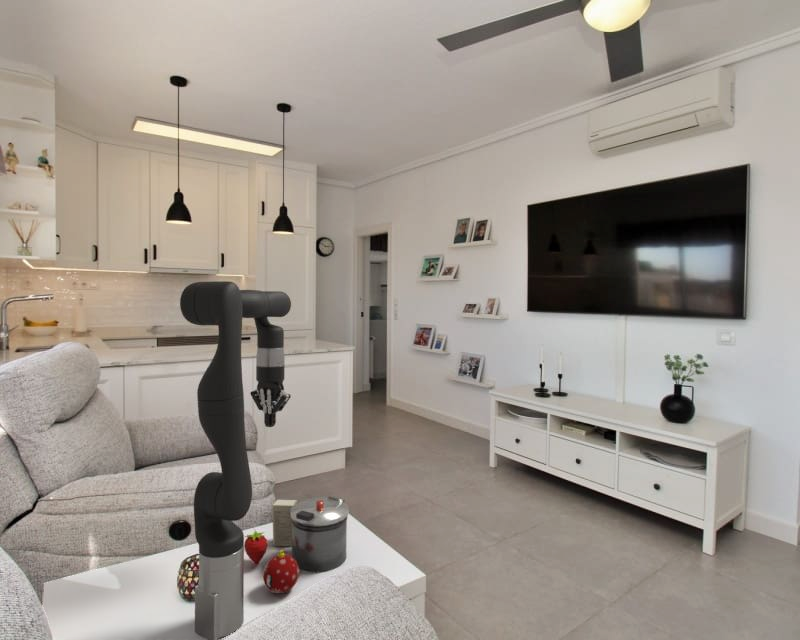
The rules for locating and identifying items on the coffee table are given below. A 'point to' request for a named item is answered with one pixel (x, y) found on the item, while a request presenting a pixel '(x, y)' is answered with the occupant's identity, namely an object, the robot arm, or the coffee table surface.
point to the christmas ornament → (281, 573)
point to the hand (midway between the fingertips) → (270, 426)
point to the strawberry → (256, 546)
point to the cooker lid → (319, 511)
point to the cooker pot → (319, 546)
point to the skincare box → (282, 522)
